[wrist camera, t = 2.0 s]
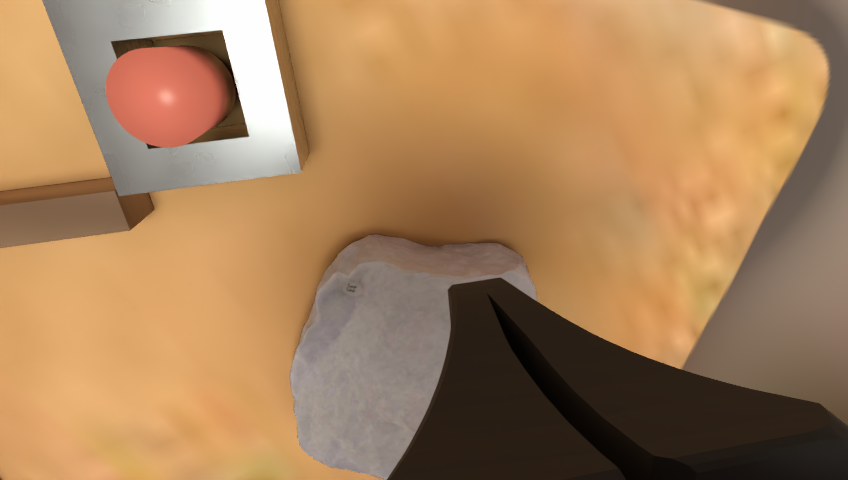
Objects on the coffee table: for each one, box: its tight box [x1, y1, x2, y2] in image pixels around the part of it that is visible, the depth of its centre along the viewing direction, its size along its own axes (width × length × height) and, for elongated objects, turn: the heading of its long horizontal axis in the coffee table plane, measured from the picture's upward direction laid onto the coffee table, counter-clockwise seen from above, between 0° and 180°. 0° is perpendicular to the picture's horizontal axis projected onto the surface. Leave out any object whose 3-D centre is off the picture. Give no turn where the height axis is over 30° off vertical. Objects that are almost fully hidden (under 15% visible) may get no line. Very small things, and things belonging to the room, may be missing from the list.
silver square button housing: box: [42, 0, 309, 196], centre depth 16 cm, size 6×6×3 cm
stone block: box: [290, 234, 537, 480], centre depth 22 cm, size 12×5×10 cm
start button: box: [106, 46, 236, 148], centre depth 14 cm, size 3×3×3 cm
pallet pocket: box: [0, 177, 154, 248], centre depth 20 cm, size 19×13×2 cm
